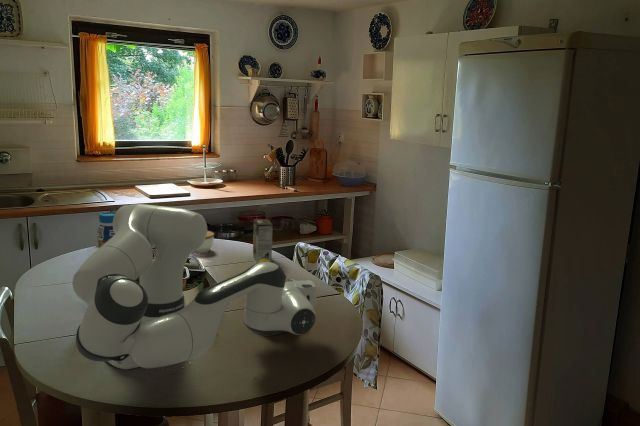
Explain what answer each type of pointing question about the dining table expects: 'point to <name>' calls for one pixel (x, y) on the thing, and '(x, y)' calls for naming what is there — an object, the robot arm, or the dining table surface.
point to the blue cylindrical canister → (105, 227)
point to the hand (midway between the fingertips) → (274, 282)
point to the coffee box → (262, 239)
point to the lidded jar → (206, 243)
